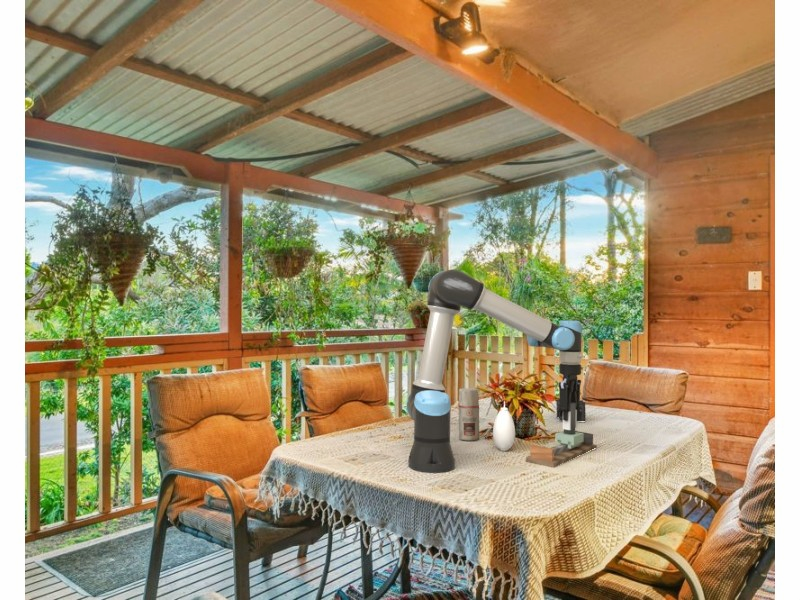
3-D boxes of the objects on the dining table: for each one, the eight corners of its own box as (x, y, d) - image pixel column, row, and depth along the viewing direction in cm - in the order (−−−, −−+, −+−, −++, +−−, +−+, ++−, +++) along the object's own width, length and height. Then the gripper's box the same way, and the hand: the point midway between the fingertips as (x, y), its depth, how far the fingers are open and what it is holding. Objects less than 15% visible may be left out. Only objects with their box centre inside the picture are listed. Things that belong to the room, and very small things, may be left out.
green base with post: (573, 449, 195) (574, 405, 195) (555, 445, 200) (555, 402, 200) (583, 445, 201) (584, 402, 201) (565, 441, 206) (565, 400, 206)
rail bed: (553, 467, 181) (553, 450, 181) (526, 461, 188) (526, 445, 188) (596, 448, 206) (596, 434, 206) (571, 444, 213) (571, 429, 213)
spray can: (454, 439, 216) (455, 388, 216) (462, 435, 224) (463, 385, 224) (475, 442, 212) (475, 390, 212) (482, 438, 220) (483, 387, 220)
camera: (547, 419, 259) (547, 398, 259) (560, 417, 266) (560, 396, 266) (574, 425, 248) (575, 402, 248) (587, 422, 255) (587, 400, 255)
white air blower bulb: (498, 453, 197) (499, 402, 197) (489, 448, 204) (489, 399, 204) (518, 452, 199) (519, 402, 199) (508, 447, 206) (509, 398, 206)
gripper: (569, 365, 192) (568, 434, 192) (590, 362, 205) (589, 426, 204) (549, 364, 197) (548, 430, 197) (570, 361, 210) (570, 423, 209)
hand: (569, 428), depth 200 cm, fingers closed on green base with post, 4 cm apart
